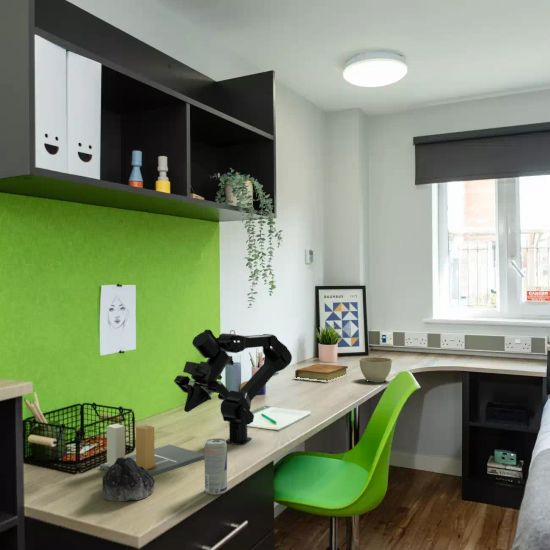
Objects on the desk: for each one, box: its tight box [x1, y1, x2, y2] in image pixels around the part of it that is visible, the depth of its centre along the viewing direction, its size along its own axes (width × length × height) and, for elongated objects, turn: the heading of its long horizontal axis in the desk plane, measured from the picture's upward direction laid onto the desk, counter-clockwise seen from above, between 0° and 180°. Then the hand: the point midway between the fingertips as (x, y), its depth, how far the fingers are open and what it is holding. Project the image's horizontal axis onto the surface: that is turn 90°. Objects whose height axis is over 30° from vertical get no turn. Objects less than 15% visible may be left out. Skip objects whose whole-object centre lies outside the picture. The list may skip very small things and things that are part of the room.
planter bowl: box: [358, 356, 393, 383], centre depth 280 cm, size 16×16×11 cm
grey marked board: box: [99, 444, 205, 477], centre depth 157 cm, size 24×16×1 cm, turn 140°
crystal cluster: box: [101, 456, 156, 502], centre depth 135 cm, size 13×14×10 cm
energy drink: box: [204, 438, 228, 496], centre depth 136 cm, size 5×5×12 cm
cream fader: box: [104, 423, 126, 467], centre depth 151 cm, size 4×5×10 cm
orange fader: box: [135, 424, 157, 470], centre depth 150 cm, size 4×5×10 cm
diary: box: [294, 363, 349, 381], centre depth 291 cm, size 23×19×6 cm
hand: (185, 411), depth 161 cm, fingers closed
